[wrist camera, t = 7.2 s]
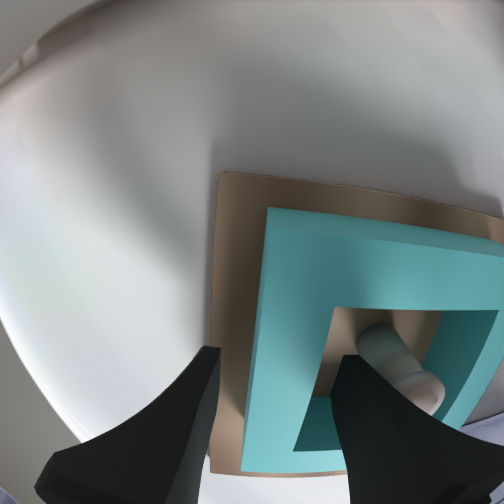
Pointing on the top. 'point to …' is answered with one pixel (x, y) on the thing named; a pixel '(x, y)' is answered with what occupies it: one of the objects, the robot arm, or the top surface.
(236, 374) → the peg board
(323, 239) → the loop
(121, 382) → the top surface
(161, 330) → the top surface
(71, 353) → the top surface
